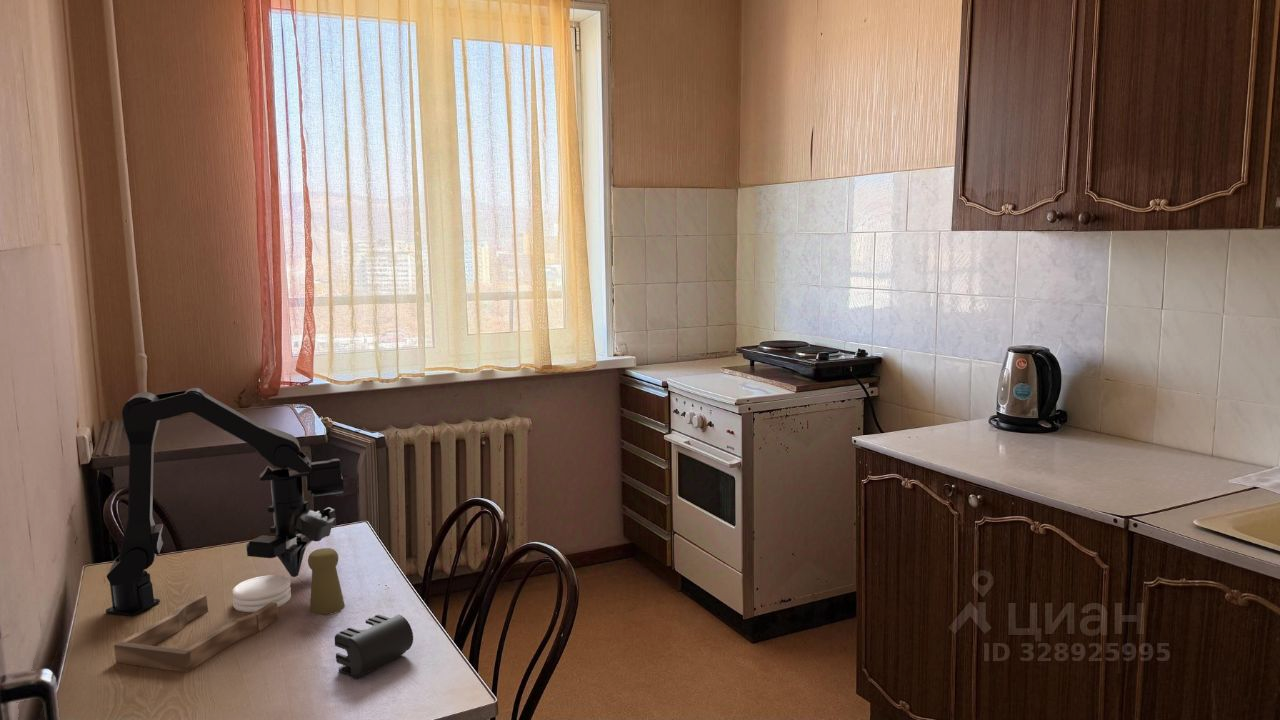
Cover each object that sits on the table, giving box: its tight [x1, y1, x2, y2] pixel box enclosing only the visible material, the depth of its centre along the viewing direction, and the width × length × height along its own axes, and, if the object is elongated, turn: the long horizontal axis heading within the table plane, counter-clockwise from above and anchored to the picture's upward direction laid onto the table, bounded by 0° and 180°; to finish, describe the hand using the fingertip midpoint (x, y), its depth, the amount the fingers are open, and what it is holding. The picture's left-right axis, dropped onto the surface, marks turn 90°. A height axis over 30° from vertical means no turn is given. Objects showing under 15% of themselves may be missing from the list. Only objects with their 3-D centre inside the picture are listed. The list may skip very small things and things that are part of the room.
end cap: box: [334, 614, 414, 679], centre depth 139 cm, size 10×7×7 cm
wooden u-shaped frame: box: [113, 594, 279, 673], centre depth 150 cm, size 20×16×3 cm
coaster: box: [231, 574, 292, 613], centre depth 166 cm, size 10×10×4 cm
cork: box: [307, 547, 346, 616], centre depth 161 cm, size 6×6×11 cm
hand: (294, 576), depth 175 cm, fingers closed
